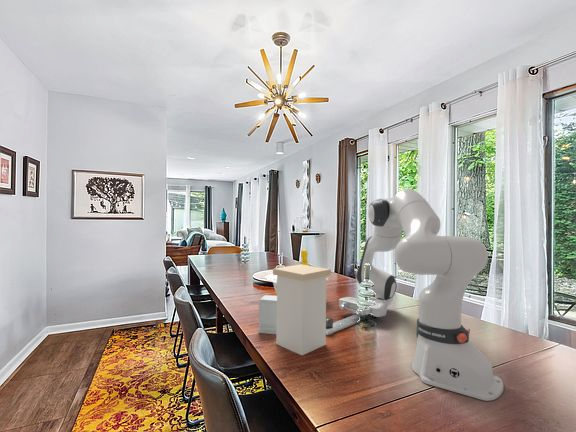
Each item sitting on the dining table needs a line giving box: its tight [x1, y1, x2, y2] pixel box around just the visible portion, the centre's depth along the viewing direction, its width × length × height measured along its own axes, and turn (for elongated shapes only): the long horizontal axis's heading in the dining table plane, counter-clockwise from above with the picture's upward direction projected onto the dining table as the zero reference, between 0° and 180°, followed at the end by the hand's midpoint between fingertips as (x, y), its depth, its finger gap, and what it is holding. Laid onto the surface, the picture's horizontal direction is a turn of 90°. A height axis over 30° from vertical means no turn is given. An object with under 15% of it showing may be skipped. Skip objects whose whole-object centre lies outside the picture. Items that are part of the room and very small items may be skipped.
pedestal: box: [272, 263, 332, 356], centre depth 108 cm, size 14×14×26 cm
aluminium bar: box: [326, 314, 360, 336], centre depth 126 cm, size 4×22×6 cm, turn 134°
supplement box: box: [258, 294, 277, 335], centre depth 121 cm, size 7×7×13 cm
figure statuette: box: [300, 249, 310, 266], centre depth 200 cm, size 18×8×22 cm, turn 26°
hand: (350, 310), depth 130 cm, fingers open, 8 cm apart
